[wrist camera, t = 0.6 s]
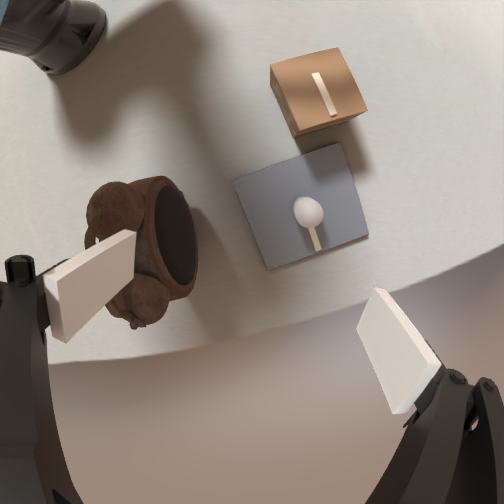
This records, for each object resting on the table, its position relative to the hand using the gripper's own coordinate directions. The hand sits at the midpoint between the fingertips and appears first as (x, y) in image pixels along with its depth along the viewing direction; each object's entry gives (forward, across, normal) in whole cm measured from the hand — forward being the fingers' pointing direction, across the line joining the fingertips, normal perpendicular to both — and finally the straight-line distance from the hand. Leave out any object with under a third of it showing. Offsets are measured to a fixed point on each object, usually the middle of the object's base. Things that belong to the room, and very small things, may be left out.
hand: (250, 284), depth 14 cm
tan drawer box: (+24, +3, +16) cm, 29 cm away
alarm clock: (+24, -11, -4) cm, 27 cm away
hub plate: (+24, +5, +2) cm, 24 cm away
